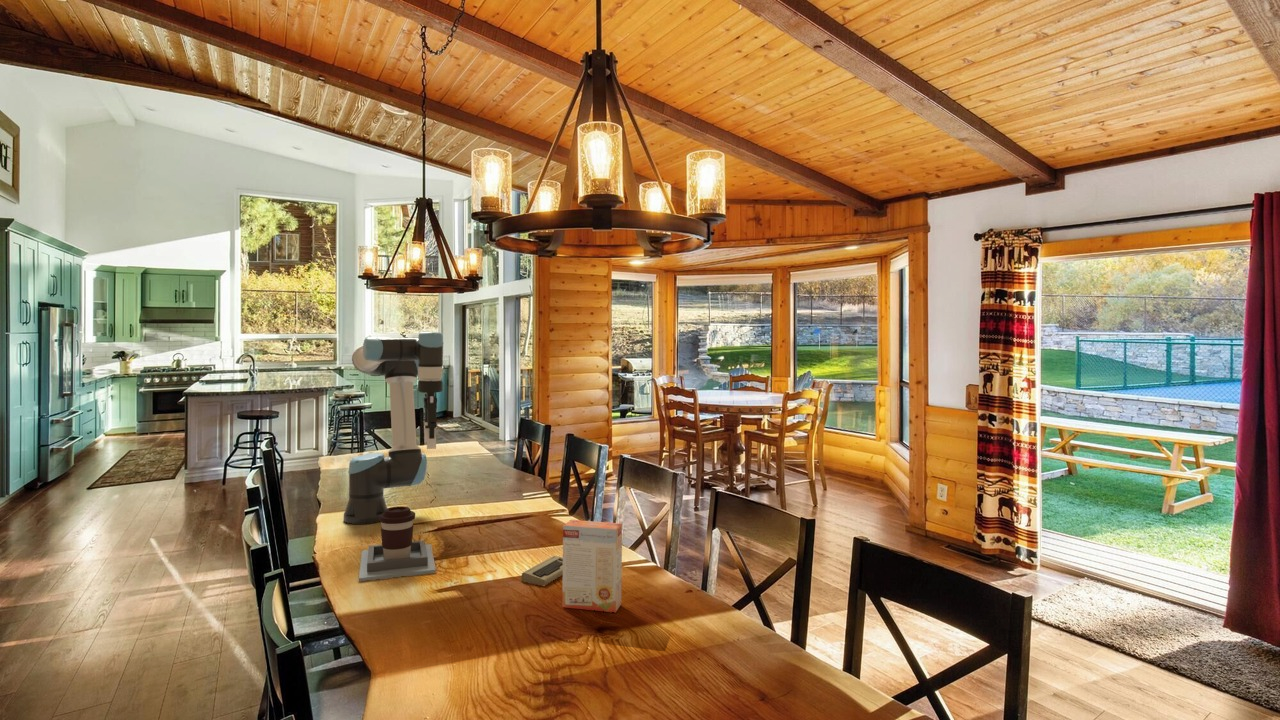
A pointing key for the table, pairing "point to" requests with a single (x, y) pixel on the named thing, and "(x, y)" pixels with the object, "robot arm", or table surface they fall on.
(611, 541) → the cracker box
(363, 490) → the robot arm
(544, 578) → the computer
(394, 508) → the coffee cup
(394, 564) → the pocket plate
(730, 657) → the table surface
